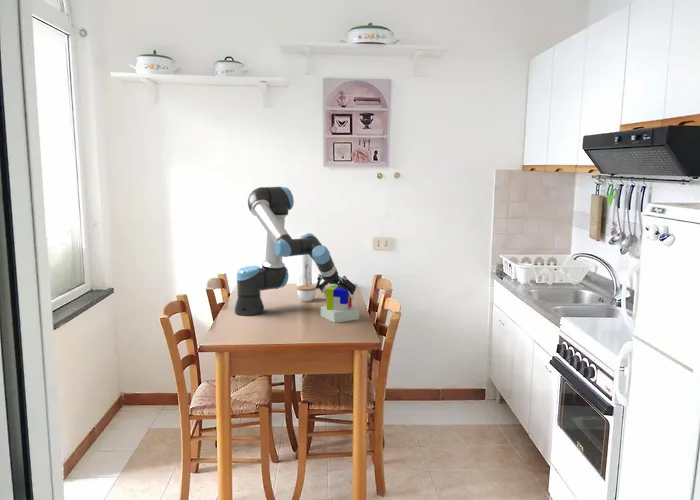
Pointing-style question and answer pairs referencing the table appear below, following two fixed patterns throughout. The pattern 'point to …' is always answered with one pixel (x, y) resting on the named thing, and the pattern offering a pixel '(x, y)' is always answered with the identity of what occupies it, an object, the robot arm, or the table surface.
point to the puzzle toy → (338, 298)
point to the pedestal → (340, 314)
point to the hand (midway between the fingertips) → (339, 296)
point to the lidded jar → (306, 292)
